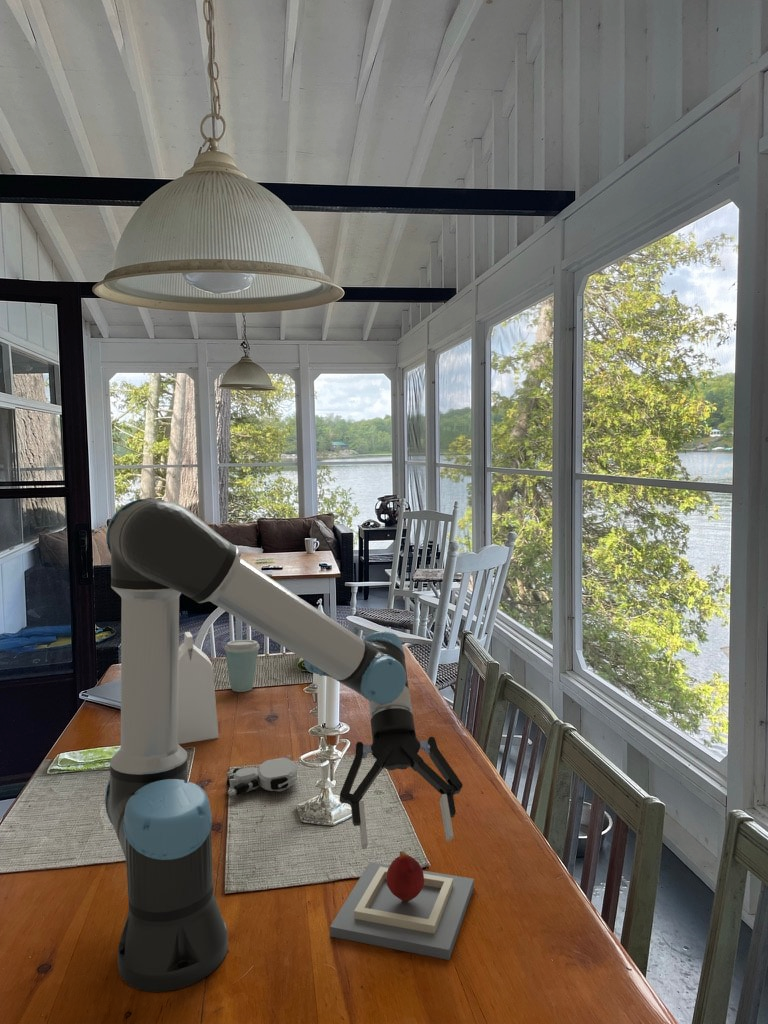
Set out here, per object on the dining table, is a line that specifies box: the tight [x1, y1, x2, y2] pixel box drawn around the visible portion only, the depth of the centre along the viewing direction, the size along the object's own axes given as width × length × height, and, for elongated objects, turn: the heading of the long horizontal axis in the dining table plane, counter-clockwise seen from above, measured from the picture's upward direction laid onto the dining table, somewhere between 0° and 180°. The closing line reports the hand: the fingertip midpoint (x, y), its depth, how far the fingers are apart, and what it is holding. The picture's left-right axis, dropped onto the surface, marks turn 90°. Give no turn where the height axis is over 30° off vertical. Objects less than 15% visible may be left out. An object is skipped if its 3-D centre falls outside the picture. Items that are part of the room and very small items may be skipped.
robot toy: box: [226, 754, 298, 796], centre depth 158 cm, size 12×4×15 cm
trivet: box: [329, 861, 475, 961], centre depth 114 cm, size 18×18×3 cm
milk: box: [178, 631, 220, 745], centre depth 189 cm, size 12×12×26 cm
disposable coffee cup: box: [223, 639, 261, 693], centre depth 225 cm, size 11×11×15 cm
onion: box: [386, 850, 424, 902], centre depth 114 cm, size 6×6×8 cm
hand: (407, 842), depth 115 cm, fingers open, 13 cm apart
